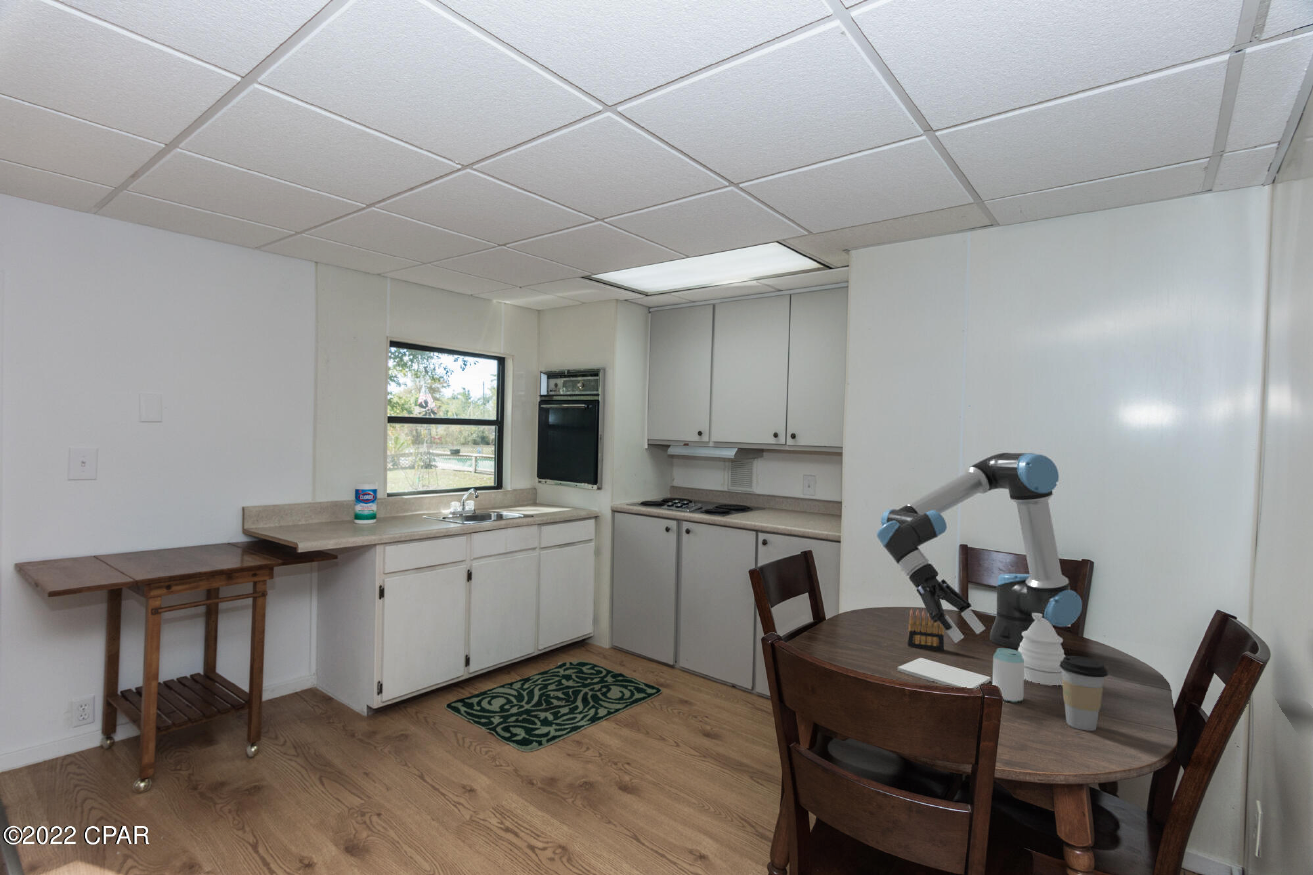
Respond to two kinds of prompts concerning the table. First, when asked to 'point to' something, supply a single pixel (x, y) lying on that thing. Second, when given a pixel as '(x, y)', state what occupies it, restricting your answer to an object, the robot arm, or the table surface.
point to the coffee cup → (1082, 690)
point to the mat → (943, 673)
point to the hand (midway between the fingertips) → (970, 635)
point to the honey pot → (1042, 653)
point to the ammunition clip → (925, 633)
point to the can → (1009, 673)
